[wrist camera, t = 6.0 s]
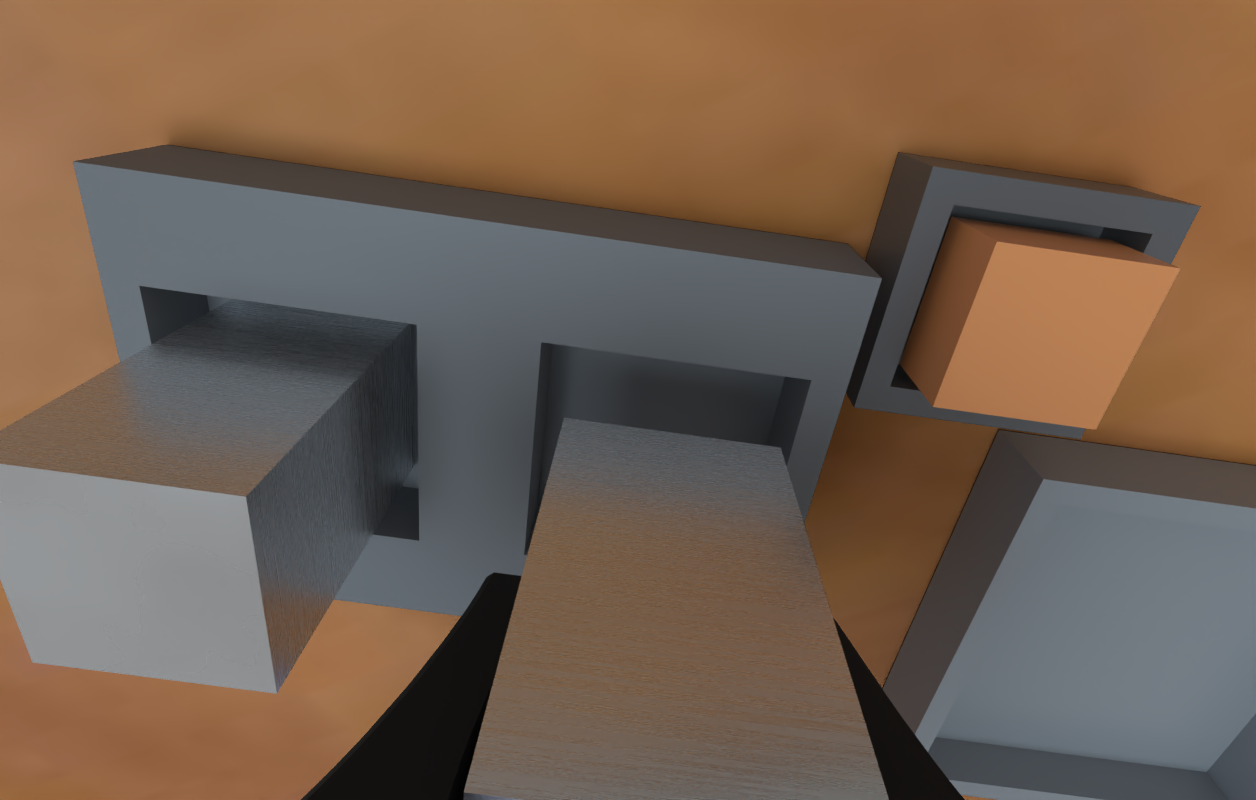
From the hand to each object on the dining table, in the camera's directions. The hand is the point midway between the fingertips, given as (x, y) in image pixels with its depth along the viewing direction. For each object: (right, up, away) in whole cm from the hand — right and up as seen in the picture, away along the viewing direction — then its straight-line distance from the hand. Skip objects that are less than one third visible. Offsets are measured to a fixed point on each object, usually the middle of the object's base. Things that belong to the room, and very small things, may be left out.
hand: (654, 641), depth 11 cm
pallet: (-4, +4, +6) cm, 8 cm away
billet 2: (0, +1, +3) cm, 3 cm away
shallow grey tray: (+14, -3, +9) cm, 16 cm away
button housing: (+7, +6, +5) cm, 11 cm away
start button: (+7, +6, +3) cm, 10 cm away
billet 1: (-8, +4, +6) cm, 10 cm away
